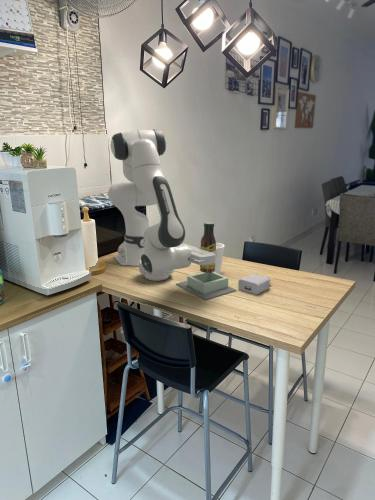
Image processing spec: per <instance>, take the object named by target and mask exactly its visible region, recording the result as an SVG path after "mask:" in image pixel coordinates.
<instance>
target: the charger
mask: <svg viewBox="0 0 375 500" xmlns="http://www.w3.org/2000/svg"><path fill="white" fill-rule="evenodd" d="M271 281H272V280H271V278H270V277H268V276H265V275H257V274H254V273H252V274H249V275H246V276H244V277H242V278H240V279H238V281H237V283H238V285H237V287H238V290H239V291H243V292H246V293H249V294H253V295H255V296H256V295H259V294H260V293H262V292H265V291H266V290H269V289H270V283H271Z"/></svg>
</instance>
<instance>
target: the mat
mask: <svg viewBox="0 0 375 500" xmlns="http://www.w3.org/2000/svg"><path fill="white" fill-rule="evenodd" d="M207 282H210V281H206V282H204V283H207ZM175 285H176V286H179V287H180V288H182V289H184V290H185V291H187V292H189V293H191V294H193V295H195V296H197V297H198V298H201V299H203V300H204V301H208V300H211V299H215V298H218V297H221V296H225V295H228V294H231V293H234V292H236V291H237V289H235V288H233V287H231V286H229V285H228V287H227V288H223V289H220V290H216V291H213V292H209V293H206V294H203V293H201V292H199V291H197V290H196V289H194V288H192V287H190V286H188V285H187V280H185V281H181V282H176V283H175Z"/></svg>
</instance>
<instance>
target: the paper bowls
mask: <svg viewBox="0 0 375 500" xmlns="http://www.w3.org/2000/svg"><path fill="white" fill-rule="evenodd" d="M138 267H139V268H138V269H139V273H140V274H142V275H144V277H145V279H147V280H149V281H155V282H157V281H158V282H159V281H165V280H167V279H168V278H169V277H170V275H172V274H173V273H174V272H175V269H172V270H170V271H168V272H163V273H149V272H147V271H146V270H145V269H144V268H143V266H142V263H141V260H140V261H139V266H138Z"/></svg>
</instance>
